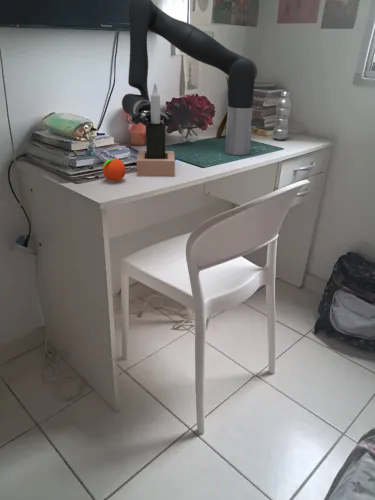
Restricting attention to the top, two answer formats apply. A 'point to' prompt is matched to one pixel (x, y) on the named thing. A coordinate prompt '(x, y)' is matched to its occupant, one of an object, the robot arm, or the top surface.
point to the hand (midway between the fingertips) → (157, 122)
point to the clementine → (114, 169)
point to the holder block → (156, 165)
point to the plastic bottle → (282, 116)
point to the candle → (155, 130)
